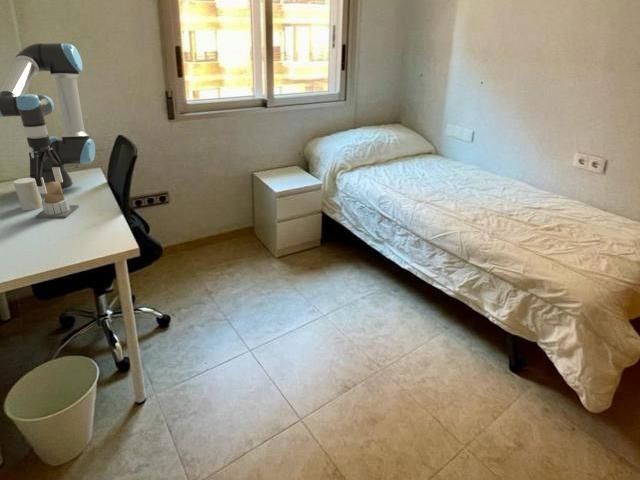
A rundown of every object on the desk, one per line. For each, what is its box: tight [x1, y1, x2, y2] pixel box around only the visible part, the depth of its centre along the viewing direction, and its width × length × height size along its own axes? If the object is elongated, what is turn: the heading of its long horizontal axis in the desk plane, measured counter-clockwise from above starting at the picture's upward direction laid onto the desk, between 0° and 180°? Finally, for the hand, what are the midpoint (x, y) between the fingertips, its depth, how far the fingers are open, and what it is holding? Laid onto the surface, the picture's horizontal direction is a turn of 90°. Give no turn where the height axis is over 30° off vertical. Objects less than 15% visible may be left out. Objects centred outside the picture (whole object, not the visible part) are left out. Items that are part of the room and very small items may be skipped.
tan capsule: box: [42, 182, 65, 203], centre depth 182 cm, size 7×7×11 cm
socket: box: [35, 196, 80, 219], centre depth 184 cm, size 12×12×6 cm
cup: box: [13, 177, 43, 211], centre depth 188 cm, size 8×8×12 cm
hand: (51, 187), depth 180 cm, fingers open, 13 cm apart
